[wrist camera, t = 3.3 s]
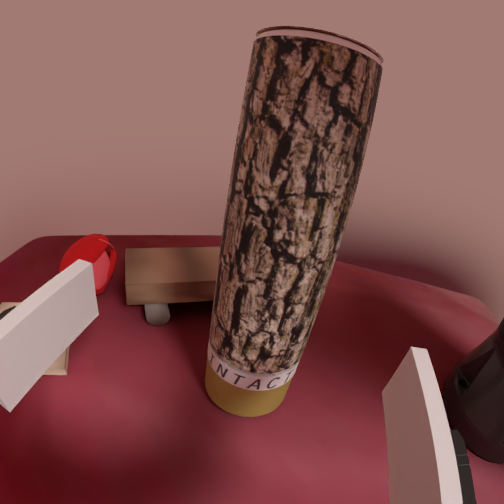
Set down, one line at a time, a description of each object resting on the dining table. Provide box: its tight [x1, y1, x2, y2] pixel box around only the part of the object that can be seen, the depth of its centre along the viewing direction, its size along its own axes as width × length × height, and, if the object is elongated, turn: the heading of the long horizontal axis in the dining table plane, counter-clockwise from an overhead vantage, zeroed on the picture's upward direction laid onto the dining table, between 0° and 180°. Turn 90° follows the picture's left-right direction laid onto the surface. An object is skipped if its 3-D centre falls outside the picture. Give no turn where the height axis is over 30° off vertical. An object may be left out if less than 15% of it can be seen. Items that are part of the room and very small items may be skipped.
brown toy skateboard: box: [125, 247, 220, 326], centre depth 34 cm, size 20×8×5 cm, turn 111°
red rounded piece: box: [59, 234, 117, 295], centre depth 31 cm, size 8×6×6 cm
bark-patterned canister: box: [205, 26, 383, 417], centre depth 19 cm, size 7×7×25 cm
